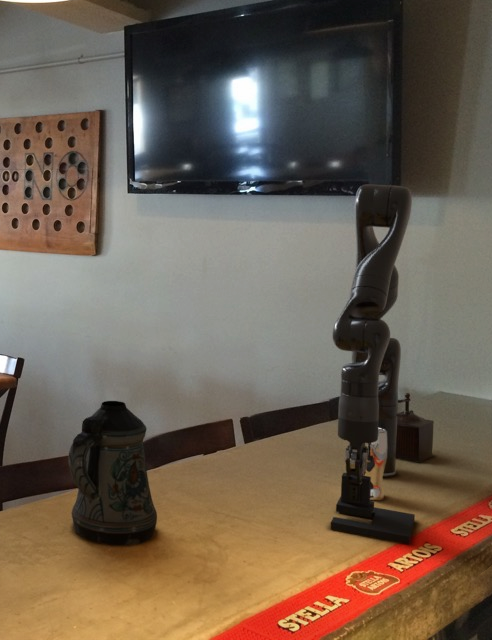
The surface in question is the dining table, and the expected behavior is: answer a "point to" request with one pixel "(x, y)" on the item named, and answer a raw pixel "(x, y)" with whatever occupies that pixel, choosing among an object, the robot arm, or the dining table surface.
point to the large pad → (379, 525)
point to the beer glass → (377, 464)
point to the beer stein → (112, 478)
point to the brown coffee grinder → (413, 435)
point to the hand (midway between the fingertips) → (355, 499)
